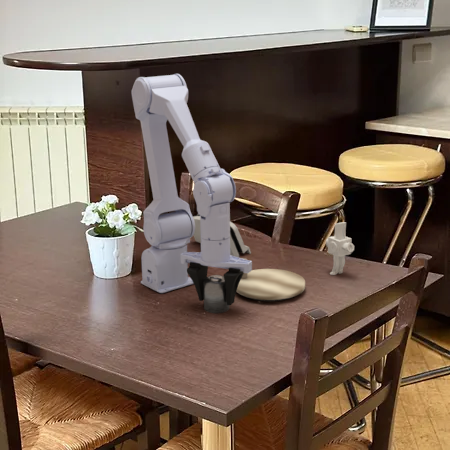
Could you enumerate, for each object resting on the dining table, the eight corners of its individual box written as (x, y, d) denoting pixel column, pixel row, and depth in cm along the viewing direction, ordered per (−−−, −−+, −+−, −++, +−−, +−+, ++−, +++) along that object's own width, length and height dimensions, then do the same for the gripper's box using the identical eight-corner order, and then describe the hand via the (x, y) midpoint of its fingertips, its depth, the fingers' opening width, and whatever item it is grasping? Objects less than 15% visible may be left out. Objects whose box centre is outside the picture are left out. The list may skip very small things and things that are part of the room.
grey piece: (252, 253, 185) (240, 218, 180) (237, 264, 183) (225, 228, 178) (211, 236, 197) (199, 203, 193) (196, 246, 195) (184, 212, 191)
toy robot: (344, 281, 167) (346, 228, 163) (320, 270, 173) (321, 219, 169) (357, 277, 169) (359, 224, 165) (333, 267, 175) (335, 216, 171)
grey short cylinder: (214, 315, 151) (214, 283, 149) (199, 307, 154) (198, 276, 152) (234, 308, 154) (234, 277, 152) (218, 301, 157) (218, 270, 155)
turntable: (290, 304, 153) (291, 280, 151) (221, 293, 159) (221, 270, 157) (314, 278, 166) (315, 256, 164) (249, 269, 172) (249, 248, 170)
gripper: (257, 234, 150) (258, 299, 154) (191, 226, 156) (192, 288, 160) (243, 245, 144) (244, 312, 148) (174, 236, 150) (177, 301, 154)
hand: (216, 301), depth 154 cm, fingers open, 5 cm apart
